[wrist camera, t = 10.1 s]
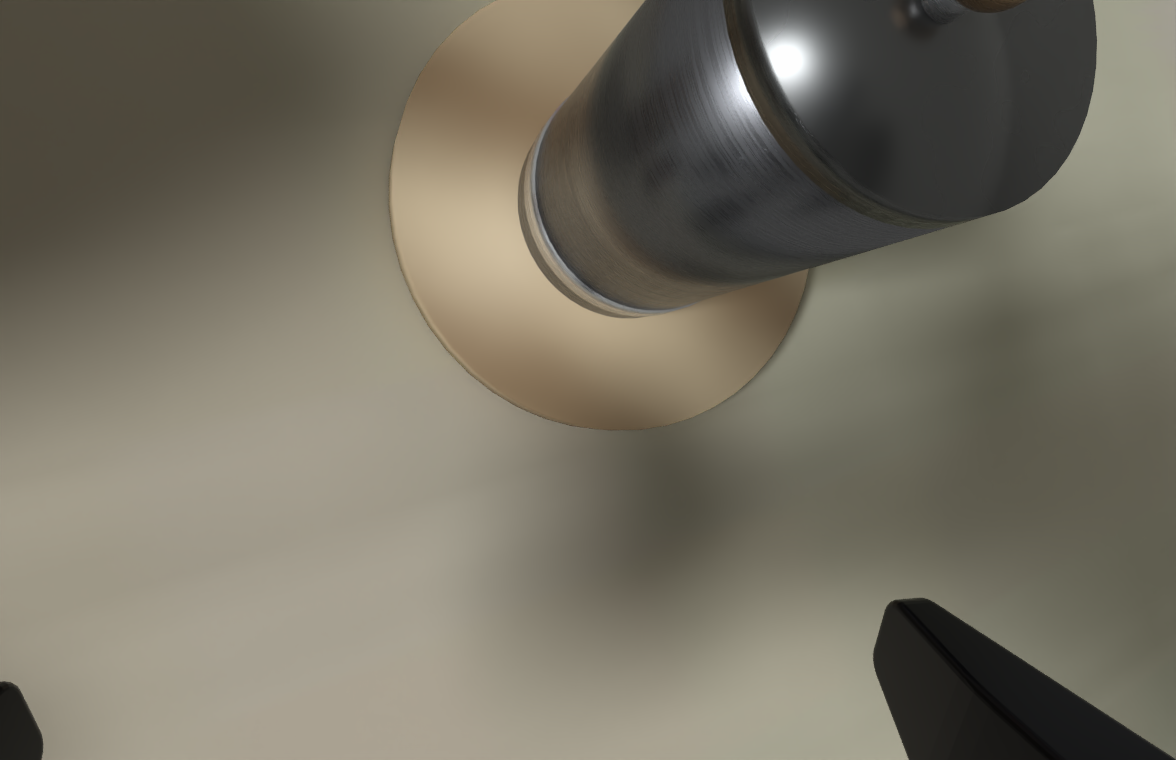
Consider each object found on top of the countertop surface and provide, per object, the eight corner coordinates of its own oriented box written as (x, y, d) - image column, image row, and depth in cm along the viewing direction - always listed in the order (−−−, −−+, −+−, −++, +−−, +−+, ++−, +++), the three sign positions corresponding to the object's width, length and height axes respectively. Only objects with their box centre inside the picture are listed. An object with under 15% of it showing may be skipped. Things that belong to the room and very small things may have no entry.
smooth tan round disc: (730, 483, 21) (750, 486, 21) (317, 339, 18) (317, 335, 17) (833, 118, 23) (854, 106, 22) (478, -83, 20) (486, -108, 19)
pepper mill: (675, 357, 20) (1151, 281, 9) (477, 255, 18) (746, -13, 7) (772, 112, 21) (1290, -233, 10) (597, -4, 20) (984, -584, 8)
